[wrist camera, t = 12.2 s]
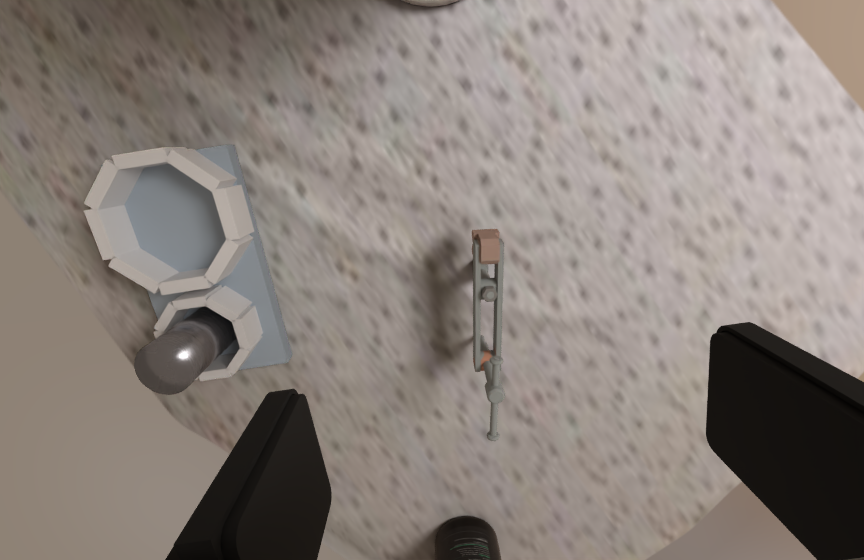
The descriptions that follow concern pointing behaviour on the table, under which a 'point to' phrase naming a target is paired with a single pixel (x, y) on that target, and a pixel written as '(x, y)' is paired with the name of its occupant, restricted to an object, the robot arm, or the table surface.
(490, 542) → the supplement bottle
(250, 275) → the fitting plate
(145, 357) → the grey cylinder
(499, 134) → the table surface
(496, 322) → the clamp
